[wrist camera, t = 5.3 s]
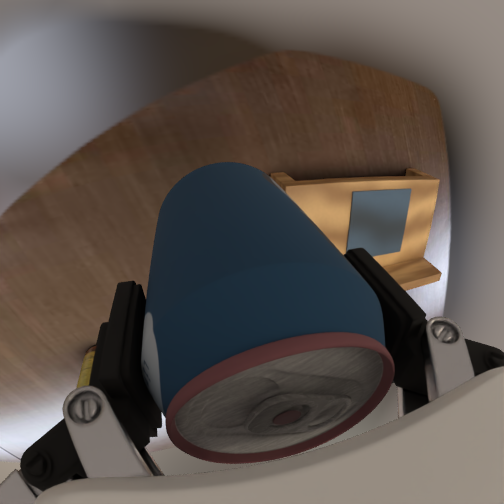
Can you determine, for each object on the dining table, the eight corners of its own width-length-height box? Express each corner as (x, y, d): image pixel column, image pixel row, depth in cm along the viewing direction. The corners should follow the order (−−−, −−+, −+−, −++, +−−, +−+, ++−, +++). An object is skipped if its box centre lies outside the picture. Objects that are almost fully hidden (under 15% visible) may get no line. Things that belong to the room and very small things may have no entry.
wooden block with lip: (270, 172, 30) (302, 201, 22) (414, 168, 33) (462, 191, 26) (271, 269, 36) (296, 318, 28) (400, 247, 39) (439, 280, 32)
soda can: (144, 252, 16) (123, 462, 6) (186, 137, 14) (193, 274, 3) (251, 282, 19) (317, 462, 9) (303, 185, 16) (456, 335, 6)
